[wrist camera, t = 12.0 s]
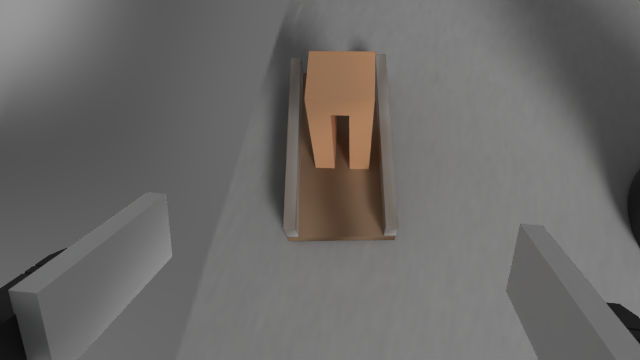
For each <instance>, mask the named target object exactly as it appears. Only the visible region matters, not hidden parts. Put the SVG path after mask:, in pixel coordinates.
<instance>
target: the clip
mask: <svg viewBox="0 0 640 360" xmlns="http://www.w3.org/2000/svg"><path fill="white" fill-rule="evenodd" d="M304 100H305V106H306V112H307V118H308V124H309V130H310V136H311V142H312V148H313V154H314V160H315V166H316V168H335V156H336V138H337V118H336V115H343V116H349V151H350V169H369V161H370V150H371V138H372V126H373V115H374V103H375V52H364V51H309V57H308V68H307V78H306V88H305V98H304Z"/></svg>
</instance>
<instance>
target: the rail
mask: <svg viewBox="0 0 640 360" xmlns="http://www.w3.org/2000/svg"><path fill="white" fill-rule="evenodd" d="M306 78H307V73H304V74H303V69H302V63H301V58H291V66H290V88H289V110H288V132H287V155H286V177H285V199H284V221H283V229H284V231H285V233H286V235H287V238H288V240H289V241H334V240H394V239H395V236H396V232H397V229H398V215H397V201H396V188H395V174H394V161H393V147H392V133H391V120H390V106H389V93H388V79H387V66H386V54H378V55H375V103H374V115H373V126H372V138H371V150H370V161H369V169H350V151H349V116H343V115H336V118H337V138H336V156H335V168H316V166H315V160H314V154H313V148H312V142H311V136H310V130H309V124H308V118H307V112H306V106H305V100H304V98H305V88H306Z"/></svg>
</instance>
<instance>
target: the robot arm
mask: <svg viewBox="0 0 640 360" xmlns="http://www.w3.org/2000/svg"><path fill="white" fill-rule="evenodd" d="M628 211H629V217H630V222H631V225H632V228H633V231H634V233H635V236H636V238H637V240H638V242H639V244H640V170H639V172H638V173H637V174H636V176H635V178H634V180H633V182H632V184H631V187H630V191H629V197H628ZM170 241H171V240H170V230H169V220H168V209H167V199H166V194H162V193H150V192H147V193H146V194H144V195H143V196H141V197H140V198H139V199H137V200H136V201H134V202H133V203H132V204H130V205H129V206H127V207H126V208H125V209H123V210H121V211H120V212H119V213H117V214H116V215H114V216H113V217H111V218H110V219H109V220H107V221H106V222H104V223H103V224H102V225H100V226H99V227H97V228H96V229H95V230H93V231H92V232H90V233H89V234H87V235H86V236H84V237H83V238H82V239H80V240H79V241H77V242H76V243H74V244H73V245H72V246H70V247H69V248H66V249H63V250H61V251H58V252H56V253H53V254H51V255H49V256H47V257H46V258H44V259H43V260H42V261H40V262H38V263H37V264H36V265H35V266H33V267H31V268H30V269H28V270H27V271H25V273H24V274H21V275H20V276H18V277H17V278H15V279H14V280H12V281H11V282H9V283H8V284H6V285H5V286H3V287H2V288H0V360H78V359H79V357H80V356H81V355H82V354H83V353H84V352H85V351H86V350H87V349H88V348H89V347H90V346H91V344H92V343H93V342H94V341H95V340H96V339H97V338H98V337H99V336H100V335H101V333H102V332H103V331H104V330H105V329H106V328H107V327H108V326H109V325H110V324H111V323H112V321H113V320H114V319H115V318H116V317H117V316H118V315H119V314H120V313H121V312H122V311H123V309H124V308H125V307H126V306H127V305H128V304H129V303H130V302H131V301H132V300H133V299H134V298H135V296H136V295H137V294H138V293H139V292H140V291H141V290H142V289H143V288H144V287H145V286H146V284H147V283H148V282H149V281H150V280H151V279H152V278H153V277H154V276H155V275H156V273H157V272H158V271H159V270H160V269H161V268H162V267H163V266H164V265H165V264H166V262H167V261H168V260H169V259H170V258H171V257H172V251H171V242H170ZM506 292H507V294H508V296H509V298H510V300H511V302H512V304H513V306H514V309H515V311H516V313H517V315H518V317H519V319H520V321H521V323H522V325H523V328H524V330H525V332H526V334H527V336H528V338H529V340H530V342H531V344H532V347H533V349H534V351H535V353H536V355H537V357H538V359H539V360H640V319H639V317H638V316H636V315H635V314H633V313H632V312H630V311H629V310H628V309H626V308H625V307H623V306H622V305H620V304H615V303H606V302H605V301H604V300H603V299H602V297H601V296H600V295H599V294H598V292H597V291H596V290H595V289H594V288H593V286H592V285H591V284H590V283H589V281H588V280H587V279H586V278H585V277H584V275H583V274H582V273H581V272H580V270H579V269H578V268H577V267H576V265H575V264H574V263H573V262H572V261H571V259H570V258H569V257H568V256H567V254H566V253H565V252H564V251H563V250H562V248H561V247H560V246H559V245H558V243H557V242H556V241H555V240H554V239H553V237H552V236H551V235H550V234H549V232H548V231H547V230H546V229H545V227H544V226H539V225H527V224H520V228H519V232H518V237H517V242H516V246H515V251H514V256H513V260H512V265H511V270H510V275H509V279H508V284H507V289H506Z"/></svg>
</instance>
